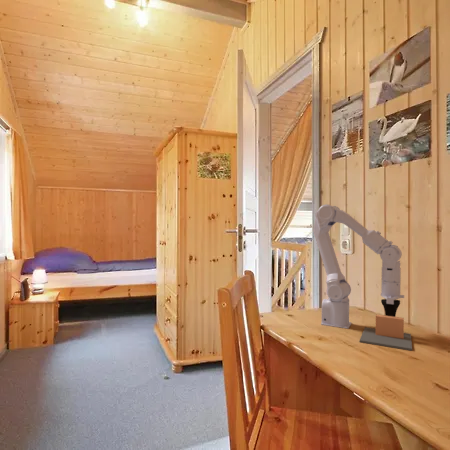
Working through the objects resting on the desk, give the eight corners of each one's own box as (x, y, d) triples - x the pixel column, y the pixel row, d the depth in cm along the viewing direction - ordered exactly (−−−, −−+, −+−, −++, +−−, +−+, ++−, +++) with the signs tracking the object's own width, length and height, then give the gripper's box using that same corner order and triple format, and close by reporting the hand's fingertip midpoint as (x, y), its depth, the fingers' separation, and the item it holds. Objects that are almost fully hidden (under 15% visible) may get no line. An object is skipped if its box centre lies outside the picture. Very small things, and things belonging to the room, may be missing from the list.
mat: (359, 342, 101) (359, 340, 101) (364, 328, 115) (364, 327, 115) (412, 350, 94) (412, 348, 94) (410, 335, 109) (410, 333, 109)
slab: (375, 334, 107) (375, 316, 107) (376, 332, 109) (376, 314, 109) (403, 338, 103) (403, 319, 103) (403, 336, 105) (403, 317, 105)
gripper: (404, 285, 102) (404, 329, 102) (404, 279, 115) (403, 318, 115) (379, 283, 106) (379, 325, 106) (381, 277, 119) (381, 315, 118)
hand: (390, 321), depth 110 cm, fingers closed
